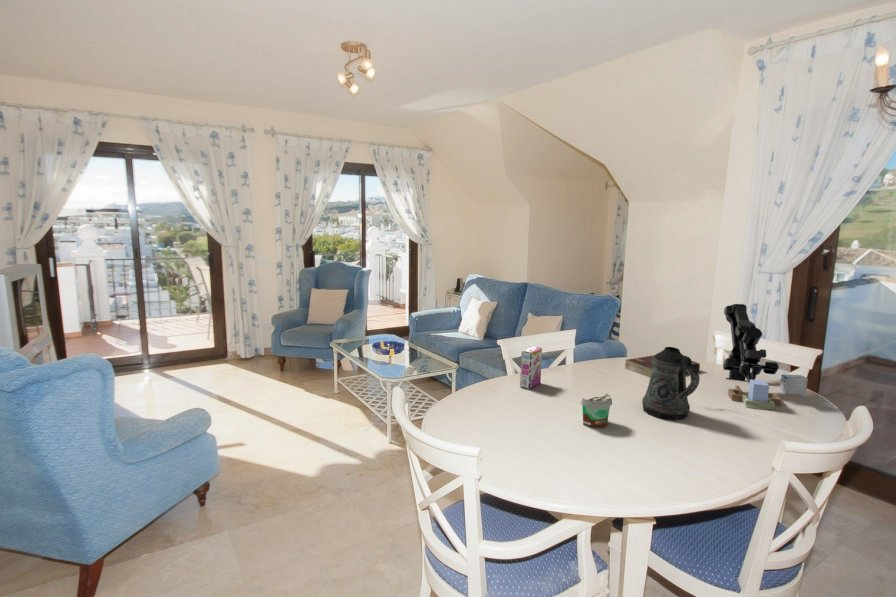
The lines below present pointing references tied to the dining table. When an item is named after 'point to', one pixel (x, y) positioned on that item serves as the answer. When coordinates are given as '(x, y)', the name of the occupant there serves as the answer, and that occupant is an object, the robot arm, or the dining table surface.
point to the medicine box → (793, 384)
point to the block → (758, 391)
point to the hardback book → (647, 365)
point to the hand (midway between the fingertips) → (752, 384)
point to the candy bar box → (531, 367)
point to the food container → (596, 411)
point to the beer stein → (670, 385)
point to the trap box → (743, 397)
